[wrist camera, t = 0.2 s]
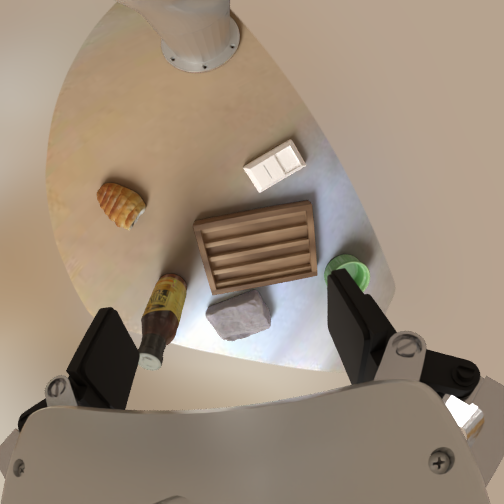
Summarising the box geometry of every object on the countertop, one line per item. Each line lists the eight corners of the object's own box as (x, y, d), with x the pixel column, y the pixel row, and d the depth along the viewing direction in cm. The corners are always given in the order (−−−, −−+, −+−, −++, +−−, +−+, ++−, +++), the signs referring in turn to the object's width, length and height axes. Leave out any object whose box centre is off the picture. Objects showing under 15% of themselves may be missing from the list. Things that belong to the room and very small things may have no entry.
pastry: (94, 201, 43) (85, 207, 40) (111, 171, 41) (102, 175, 38) (133, 230, 46) (126, 238, 43) (151, 201, 44) (145, 207, 41)
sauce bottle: (173, 266, 50) (148, 339, 32) (194, 288, 52) (180, 365, 34) (150, 283, 51) (120, 355, 33) (170, 304, 54) (151, 379, 36)
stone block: (273, 312, 59) (256, 284, 53) (277, 330, 55) (259, 302, 49) (224, 329, 61) (202, 304, 55) (225, 346, 57) (202, 322, 51)
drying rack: (194, 221, 46) (192, 226, 44) (308, 200, 46) (311, 204, 44) (213, 287, 53) (212, 295, 50) (313, 268, 52) (317, 275, 50)
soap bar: (242, 166, 43) (243, 168, 41) (289, 139, 42) (292, 139, 39) (258, 190, 45) (259, 194, 43) (303, 164, 44) (307, 166, 41)
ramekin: (331, 296, 56) (338, 309, 52) (314, 267, 52) (320, 278, 48) (366, 274, 54) (375, 285, 50) (352, 243, 51) (361, 252, 47)
